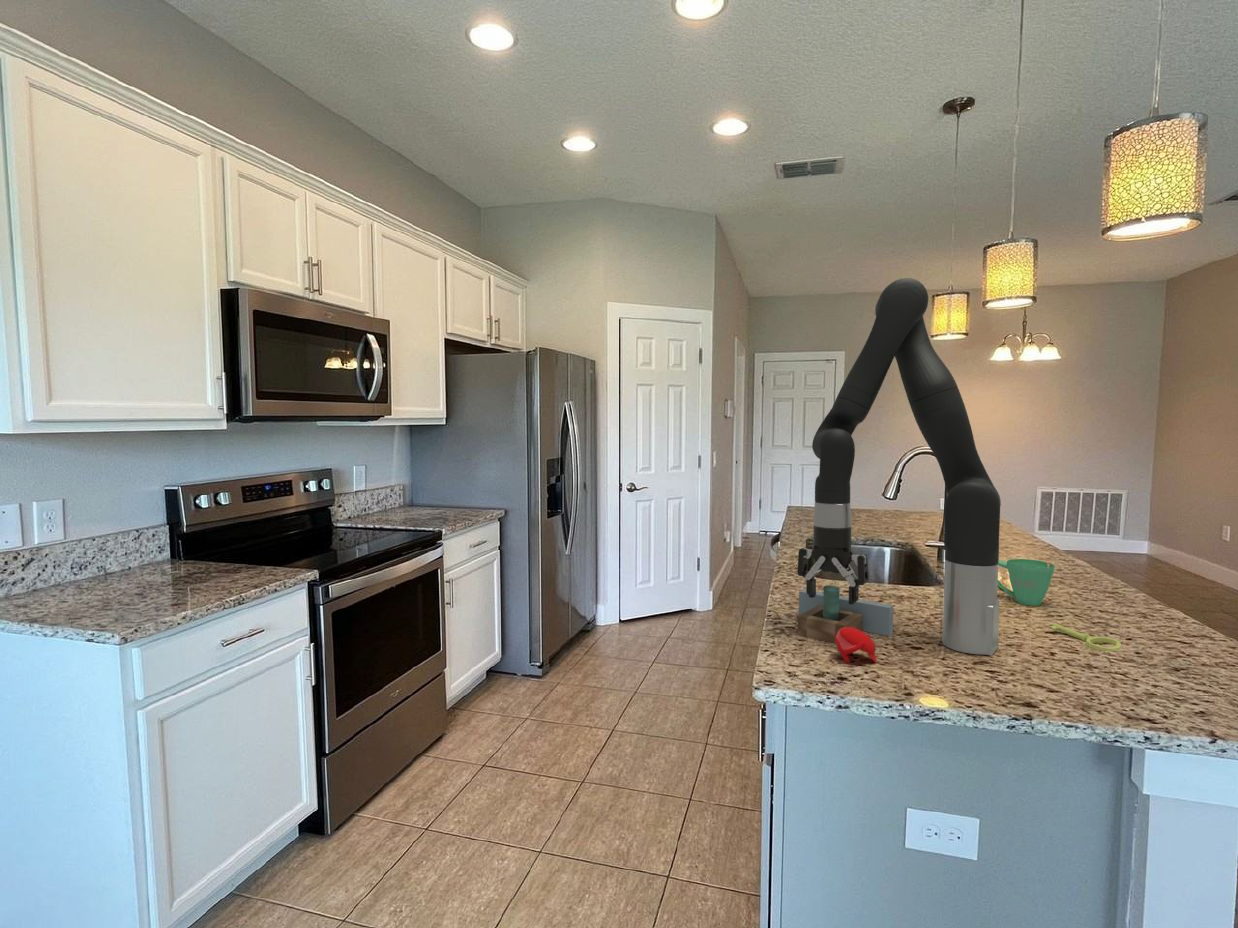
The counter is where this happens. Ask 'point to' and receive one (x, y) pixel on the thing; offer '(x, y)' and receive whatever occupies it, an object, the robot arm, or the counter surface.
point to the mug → (1027, 580)
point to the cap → (854, 643)
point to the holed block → (827, 624)
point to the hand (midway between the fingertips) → (831, 600)
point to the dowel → (831, 602)
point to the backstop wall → (856, 611)
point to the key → (1089, 638)
